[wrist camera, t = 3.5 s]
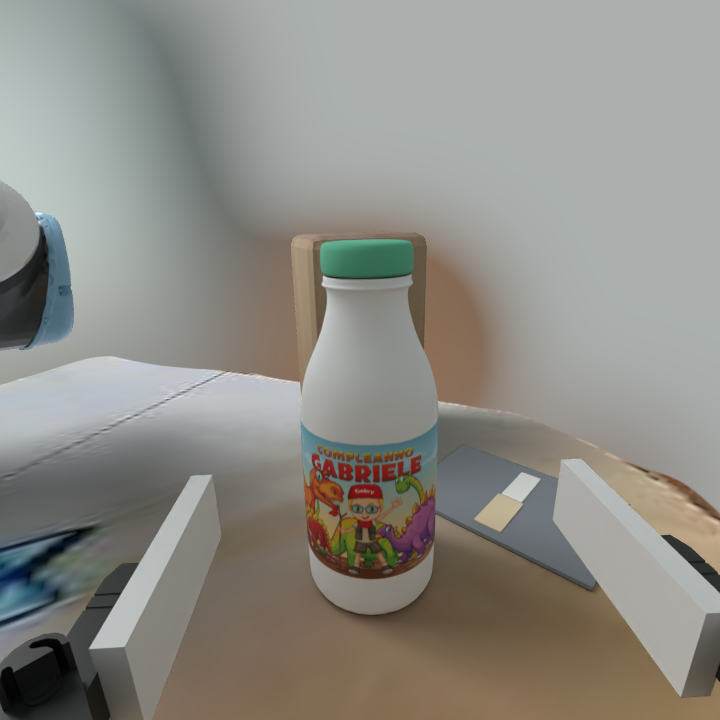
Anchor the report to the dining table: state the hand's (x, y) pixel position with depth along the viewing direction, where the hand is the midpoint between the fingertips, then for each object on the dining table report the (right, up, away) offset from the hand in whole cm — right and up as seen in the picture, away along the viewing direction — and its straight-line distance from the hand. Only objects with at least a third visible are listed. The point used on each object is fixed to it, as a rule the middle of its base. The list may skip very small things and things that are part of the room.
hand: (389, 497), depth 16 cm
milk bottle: (0, -8, +11) cm, 14 cm away
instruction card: (+11, -6, +17) cm, 21 cm away
